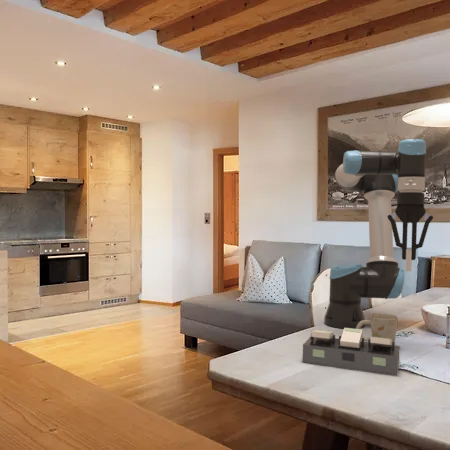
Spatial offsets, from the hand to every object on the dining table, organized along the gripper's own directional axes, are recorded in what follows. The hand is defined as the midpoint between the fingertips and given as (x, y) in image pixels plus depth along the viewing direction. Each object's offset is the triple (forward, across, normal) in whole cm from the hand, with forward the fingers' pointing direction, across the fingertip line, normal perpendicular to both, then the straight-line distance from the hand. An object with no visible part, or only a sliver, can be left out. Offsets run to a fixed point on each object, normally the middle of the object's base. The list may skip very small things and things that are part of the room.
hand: (408, 270), depth 139 cm
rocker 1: (+18, -22, -16) cm, 33 cm away
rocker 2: (+18, -14, -16) cm, 28 cm away
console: (+25, -14, -16) cm, 33 cm away
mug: (+26, -9, +4) cm, 27 cm away
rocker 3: (+18, -6, -16) cm, 25 cm away
